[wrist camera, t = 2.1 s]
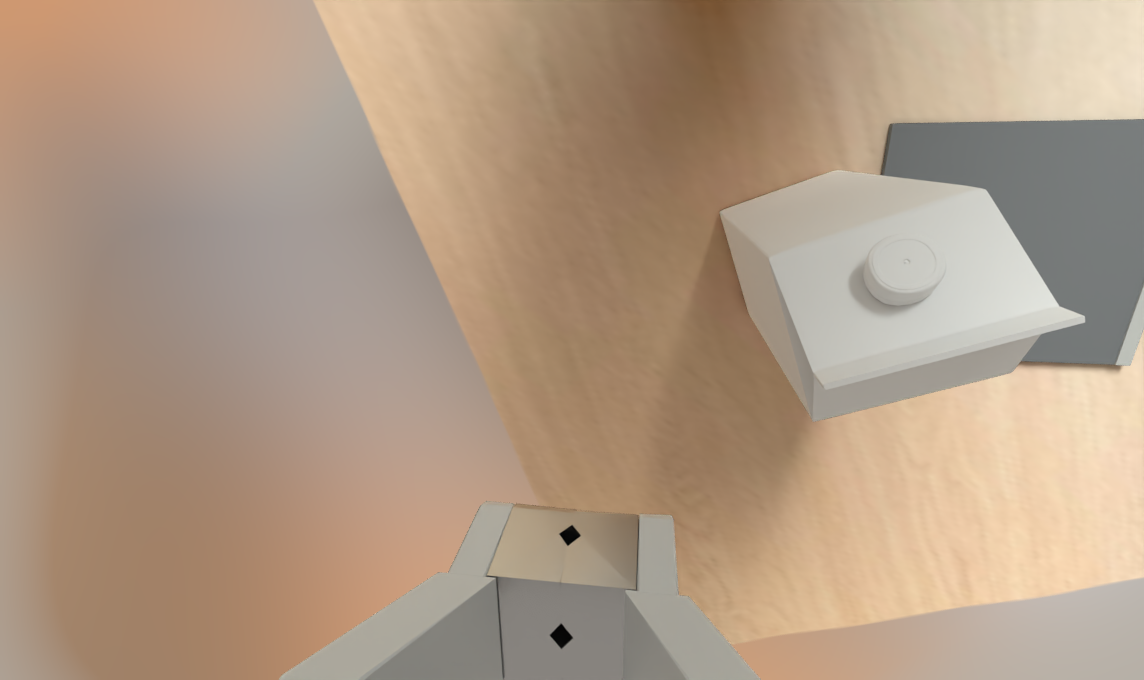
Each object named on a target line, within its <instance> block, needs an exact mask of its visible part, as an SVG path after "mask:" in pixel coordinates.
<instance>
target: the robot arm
mask: <svg viewBox="0 0 1144 680" xmlns="http://www.w3.org/2000/svg"><path fill="white" fill-rule="evenodd" d="M279 680H761V679H760V678H759V677H758V676H757V675H756V674H755V672H754V671H753V670H752V669H751V668H750V666H748V664H747V663H746V662H745V661H744V659H743V658H742V657H741V656H740V655H739V654H738V652H737V651H736V650H735V649H734V648H733V647H732V645H731V644H730V643H729V642H728V641H727V640H726V639H725V637H724V636H723V635H722V634H721V633H720V632H719V630H718V629H717V628H716V627H715V626H714V625H713V623H712V622H711V621H710V620H709V619H708V618H707V616H706V615H705V614H704V613H703V612H702V611H701V610H700V608H699V607H698V606H697V605H696V604H695V603H694V601H693V600H692V599H691V598H690V597H689V596H681V595H679V592H678V577H677V562H676V547H675V532H674V519H673V517H672V516H671V515H659V514H640V515H636V514H622V513H609V512H595V511H581V510H575V509H565V508H555V507H546V506H536V505H525V504H516V505H515V504H513V503H501V502H490V501H486V502H484V503H483V504H482V505H481V506H480V507H479V509H478V511H477V514H476V515H475V517H474V520H473V522H472V524H471V526H470V528H469V530H468V532H467V534H466V536H465V538H464V540H463V543H462V545H461V547H460V549H459V551H458V553H457V555H456V557H455V559H454V561H453V564H452V565H451V567H450V570H449V572H448V573H440V572H438V573H437V574H435V575H434V576H432V577H430V578H429V579H427V580H426V581H424V582H423V583H421V584H420V585H418V586H417V587H415V588H414V589H413V590H411V591H409V592H408V593H406V594H405V595H403V596H402V597H400V598H398V599H397V600H396V601H394V602H392V603H391V604H389V605H388V606H386V607H385V608H383V609H382V610H380V611H379V612H377V613H376V614H374V615H373V616H371V617H370V618H368V619H366V620H365V621H363V622H362V623H360V624H359V625H358V626H356V627H354V628H353V629H351V630H350V631H348V632H347V633H345V634H344V635H342V636H341V637H339V638H338V639H336V640H335V641H333V642H332V643H330V644H328V645H327V646H325V647H324V648H323V649H321V650H319V651H318V652H316V653H315V654H313V655H312V656H310V657H309V658H307V659H306V660H304V661H303V662H301V663H300V664H298V665H297V666H295V667H294V668H292V669H290V670H289V671H287V672H286V673H284V674H283V675H282V676H281V677H280V679H279Z"/></svg>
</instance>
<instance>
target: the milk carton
mask: <svg viewBox="0 0 1144 680" xmlns="http://www.w3.org/2000/svg"><path fill="white" fill-rule="evenodd" d="M720 217H721V220H722V223H723V227H724V230H725V234H726V237H727V241H728V244H729V248H730V251H731V255H732V258H733V261H734V265H735V268H736V272H737V275H738V279H739V282H740V286H741V289H742V293H743V296H744V299H745V303H746V306H747V310H748V313H749V315H750V317H751V319H752V320H753V322H754V324H755V325H756V327H757V329H758V330H759V332H760V334H761V335H762V337H763V339H764V340H765V342H766V344H767V345H768V347H769V349H770V350H771V352H772V354H773V355H774V357H775V359H776V360H777V362H778V364H779V365H780V367H781V369H782V371H783V372H784V374H785V376H786V377H787V379H788V381H789V382H790V384H791V386H792V387H793V389H794V391H795V392H796V394H797V396H798V397H799V399H800V401H801V402H802V404H803V406H804V407H805V409H806V411H807V412H808V414H809V416H810V417H811V419H812V421H813V422H814V421H819V420H823V419H828V418H832V417H836V416H840V415H844V414H848V413H852V412H856V411H860V410H864V409H868V408H872V407H876V406H880V405H884V404H888V403H892V402H896V401H900V400H904V399H909V398H913V397H917V396H921V395H925V394H929V393H933V392H937V391H941V390H945V389H949V388H953V387H957V386H961V385H965V384H969V383H973V382H977V381H981V380H985V379H989V378H993V377H997V376H1001V375H1005V374H1008V373H1011V372H1013V371H1014V369H1015V368H1016V367H1017V365H1018V364H1019V363H1020V361H1021V360H1022V359H1023V357H1024V356H1025V355H1026V354H1027V352H1028V351H1029V350H1030V348H1031V347H1032V346H1033V344H1034V343H1035V342H1036V340H1037V339H1038V338H1039V336H1040V335H1041V334H1043V333H1047V332H1051V331H1054V330H1058V329H1062V328H1066V327H1070V326H1074V325H1077V324H1081V323H1085V316H1083V315H1081V314H1078V313H1075V312H1073V311H1070V310H1068V309H1065V308H1063V307H1060V306H1059V305H1058V303H1057V302H1056V300H1055V299H1054V297H1053V295H1052V294H1051V292H1050V291H1049V289H1048V287H1047V286H1046V284H1045V283H1044V281H1043V279H1042V278H1041V276H1040V275H1039V273H1038V271H1037V270H1036V268H1035V267H1034V265H1033V263H1032V262H1031V260H1030V259H1029V257H1028V255H1027V254H1026V252H1025V251H1024V249H1023V247H1022V246H1021V244H1020V243H1019V241H1018V239H1017V238H1016V236H1015V235H1014V233H1013V231H1012V230H1011V228H1010V227H1009V225H1008V223H1007V222H1006V220H1005V219H1004V217H1003V215H1002V214H1001V212H1000V211H999V209H998V207H997V206H996V204H995V203H994V201H993V199H992V198H991V196H990V195H989V193H988V192H987V190H986V189H982V188H977V187H971V186H964V185H957V184H948V183H940V182H932V181H924V180H915V179H907V178H899V177H891V176H882V175H874V174H866V173H858V172H849V171H841V170H835V171H831V172H828V173H825V174H822V175H820V176H817V177H814V178H811V179H808V180H805V181H802V182H800V183H797V184H794V185H791V186H788V187H785V188H783V189H780V190H777V191H774V192H771V193H768V194H766V195H763V196H760V197H757V198H754V199H751V200H749V201H746V202H743V203H740V204H737V205H734V206H732V207H729V208H726V209H724V210H722V211H720Z"/></svg>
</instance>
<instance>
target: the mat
mask: <svg viewBox="0 0 1144 680" xmlns="http://www.w3.org/2000/svg"><path fill="white" fill-rule="evenodd" d="M881 175H882V176H891V177H899V178H907V179H915V180H924V181H932V182H940V183H948V184H957V185H964V186H971V187H977V188H982V189H986V190H987V192H988V193H989V195H990V196H991V198H992V199H993V201H994V203H995V204H996V206H997V207H998V209H999V211H1000V212H1001V214H1002V215H1003V217H1004V219H1005V220H1006V222H1007V223H1008V225H1009V227H1010V228H1011V230H1012V231H1013V233H1014V235H1015V236H1016V238H1017V239H1018V241H1019V243H1020V244H1021V246H1022V247H1023V249H1024V251H1025V252H1026V254H1027V255H1028V257H1029V259H1030V260H1031V262H1032V263H1033V265H1034V267H1035V268H1036V270H1037V271H1038V273H1039V275H1040V276H1041V278H1042V279H1043V281H1044V283H1045V284H1046V286H1047V287H1048V289H1049V291H1050V292H1051V294H1052V295H1053V297H1054V299H1055V300H1056V302H1057V303H1058V305H1059V306H1060V307H1063V308H1065V309H1068V310H1070V311H1073V312H1075V313H1078V314H1081V315H1083V316H1085V323H1081V324H1077V325H1074V326H1070V327H1066V328H1062V329H1058V330H1054V331H1051V332H1047V333H1043V334H1041V335H1040V336H1039V338H1038V339H1037V340H1036V342H1035V343H1034V344H1033V346H1032V347H1031V348H1030V350H1029V351H1028V352H1027V354H1026V355H1025V356H1024V357H1023V359H1022V360H1021V361H1030V362H1058V363H1086V364H1114V365H1125V366H1130V365H1131V362H1132V360H1133V357H1134V354H1135V351H1136V349H1137V346H1138V343H1139V340H1140V338H1141V335H1142V332H1143V330H1144V119H1134V120H1074V121H1014V122H955V123H895V124H890V128H889V134H888V139H887V145H886V151H885V156H884V162H883V168H882V174H881Z"/></svg>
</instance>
